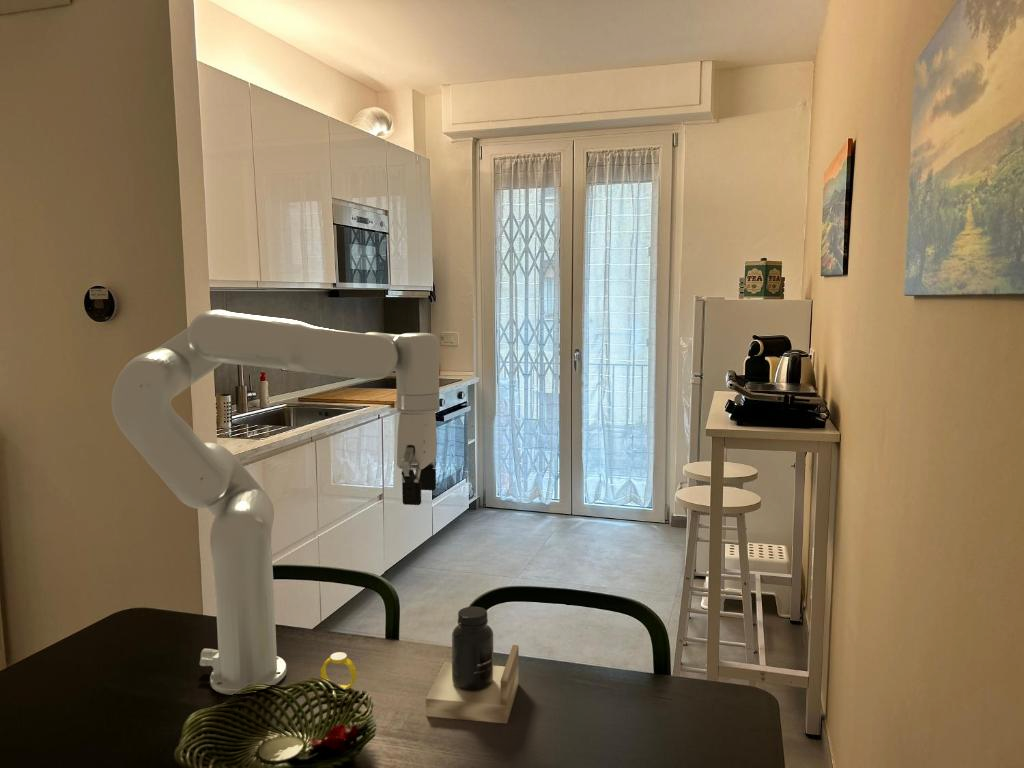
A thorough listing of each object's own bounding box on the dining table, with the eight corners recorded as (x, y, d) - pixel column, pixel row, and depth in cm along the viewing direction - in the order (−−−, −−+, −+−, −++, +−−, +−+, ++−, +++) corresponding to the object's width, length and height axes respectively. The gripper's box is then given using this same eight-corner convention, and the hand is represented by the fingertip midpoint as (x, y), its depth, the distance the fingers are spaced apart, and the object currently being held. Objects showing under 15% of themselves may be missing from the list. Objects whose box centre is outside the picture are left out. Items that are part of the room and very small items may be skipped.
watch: (357, 687, 128) (359, 654, 127) (351, 696, 125) (352, 662, 124) (325, 681, 129) (326, 649, 128) (318, 689, 126) (319, 656, 126)
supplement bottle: (487, 694, 119) (486, 623, 118) (446, 689, 121) (445, 618, 119) (498, 673, 126) (497, 605, 124) (459, 669, 127) (458, 601, 126)
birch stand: (426, 716, 118) (425, 674, 118) (444, 678, 130) (444, 639, 129) (507, 723, 116) (506, 681, 116) (518, 684, 128) (518, 645, 127)
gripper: (411, 395, 141) (413, 484, 143) (381, 409, 124) (384, 509, 126) (450, 396, 140) (451, 485, 142) (425, 410, 123) (427, 511, 125)
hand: (419, 496), depth 134 cm, fingers open, 9 cm apart
